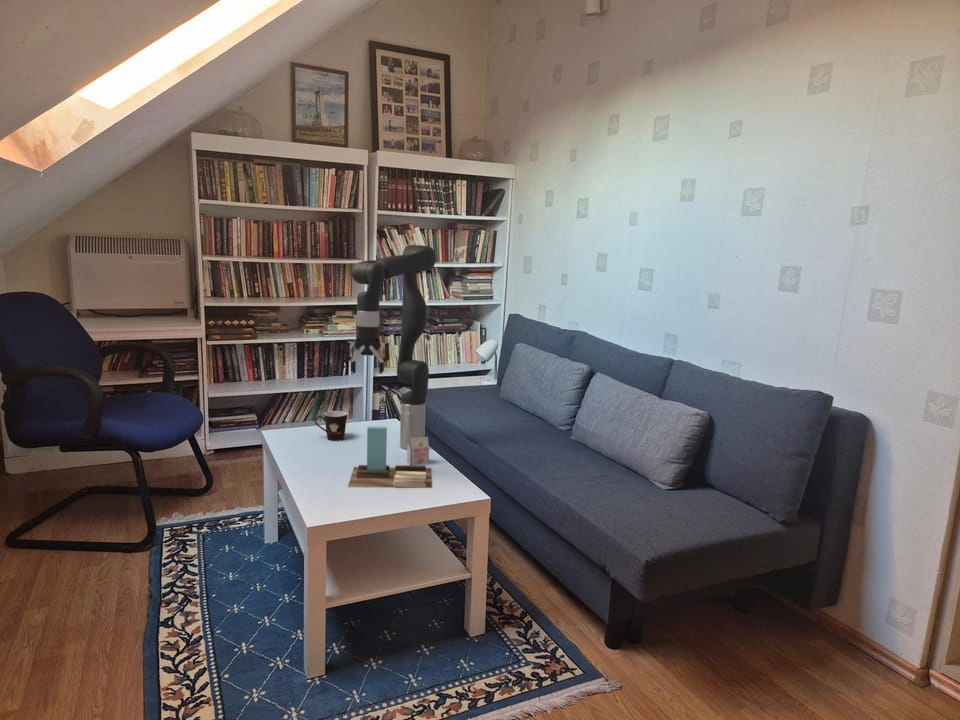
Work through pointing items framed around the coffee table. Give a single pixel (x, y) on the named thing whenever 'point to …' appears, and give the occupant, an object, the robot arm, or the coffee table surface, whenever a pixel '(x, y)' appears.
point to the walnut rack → (385, 476)
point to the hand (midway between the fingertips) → (367, 373)
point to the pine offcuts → (409, 479)
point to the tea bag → (418, 451)
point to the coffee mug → (334, 424)
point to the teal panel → (376, 448)
